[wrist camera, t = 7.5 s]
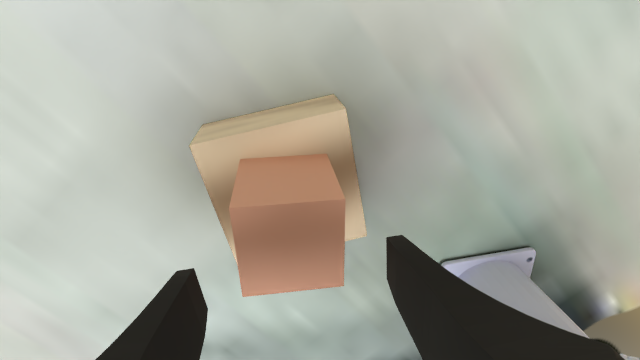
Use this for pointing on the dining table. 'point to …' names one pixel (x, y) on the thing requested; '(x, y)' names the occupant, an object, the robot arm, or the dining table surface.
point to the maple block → (279, 152)
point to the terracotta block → (288, 224)
